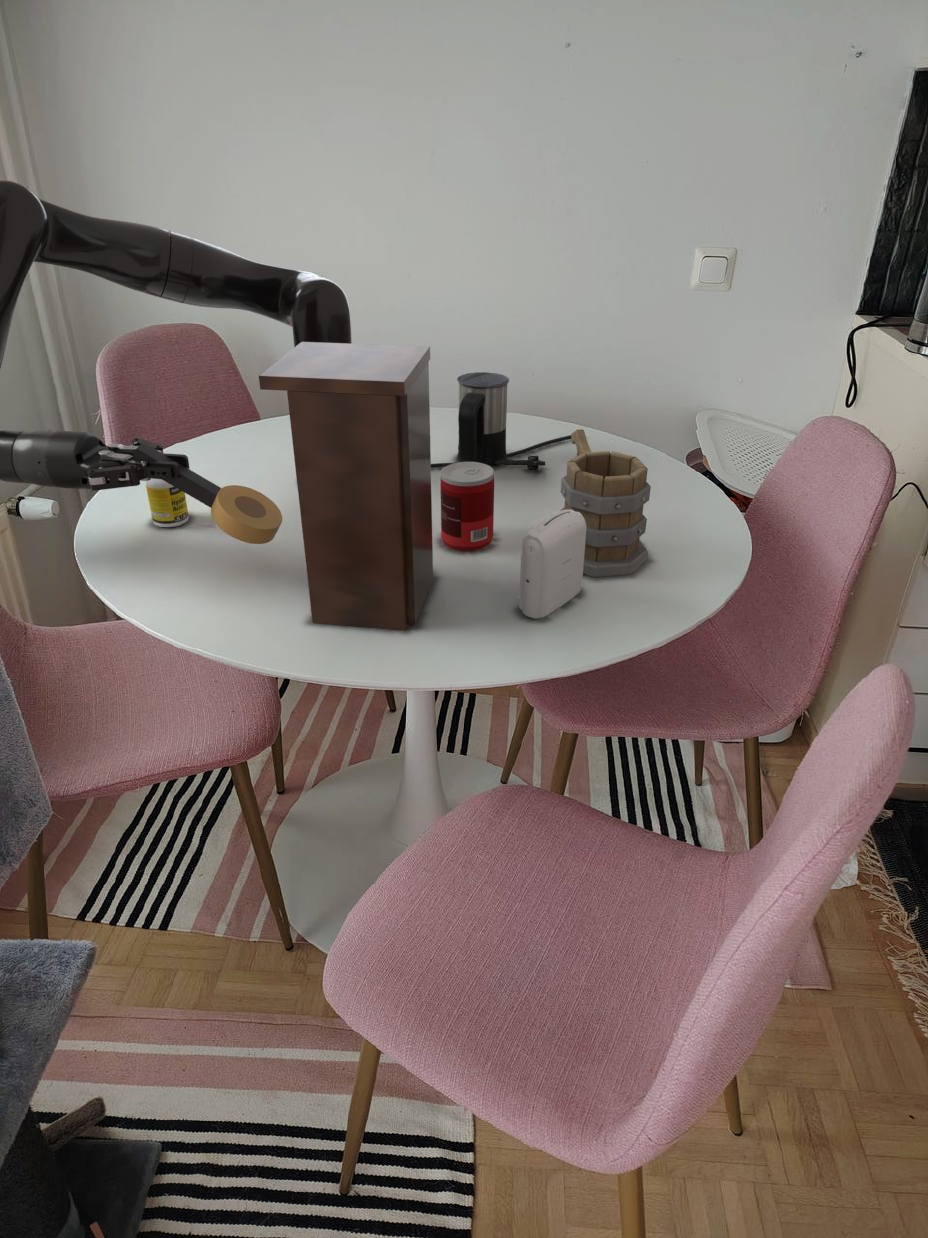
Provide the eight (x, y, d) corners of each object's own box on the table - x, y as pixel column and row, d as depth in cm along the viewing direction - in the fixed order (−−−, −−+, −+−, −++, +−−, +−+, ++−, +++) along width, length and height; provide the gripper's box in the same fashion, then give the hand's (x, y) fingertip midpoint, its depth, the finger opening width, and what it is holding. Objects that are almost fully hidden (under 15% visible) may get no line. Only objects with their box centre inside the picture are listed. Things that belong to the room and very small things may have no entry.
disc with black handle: (284, 524, 119) (291, 510, 118) (261, 553, 112) (269, 539, 110) (150, 446, 116) (156, 431, 115) (117, 471, 108) (124, 454, 107)
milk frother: (457, 450, 160) (457, 370, 152) (542, 451, 159) (546, 371, 151) (454, 479, 148) (454, 394, 140) (546, 480, 147) (550, 395, 139)
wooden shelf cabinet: (289, 621, 108) (258, 375, 92) (323, 565, 121) (301, 341, 104) (413, 631, 106) (404, 381, 90) (434, 573, 119) (430, 346, 102)
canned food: (499, 533, 130) (501, 464, 124) (483, 556, 123) (484, 484, 117) (452, 526, 132) (451, 458, 126) (433, 548, 125) (432, 477, 119)
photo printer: (540, 623, 107) (546, 534, 101) (513, 612, 110) (517, 524, 103) (586, 592, 114) (593, 507, 108) (559, 582, 116) (565, 498, 110)
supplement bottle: (179, 529, 131) (167, 469, 125) (146, 526, 131) (134, 466, 126) (195, 515, 135) (185, 456, 130) (164, 512, 136) (152, 453, 131)
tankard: (656, 573, 119) (669, 471, 111) (568, 580, 117) (575, 477, 109) (611, 513, 136) (620, 421, 128) (534, 519, 134) (538, 426, 126)
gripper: (22, 450, 106) (153, 459, 104) (81, 415, 118) (200, 422, 116) (37, 506, 110) (164, 515, 108) (93, 466, 122) (208, 474, 120)
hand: (182, 467), depth 112 cm, fingers closed on disc with black handle, 2 cm apart
